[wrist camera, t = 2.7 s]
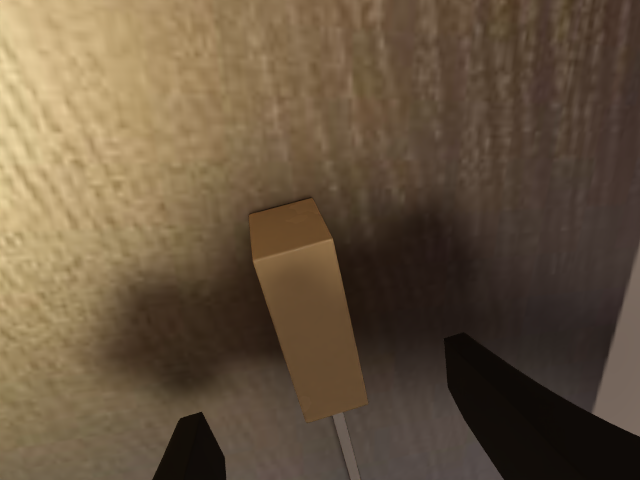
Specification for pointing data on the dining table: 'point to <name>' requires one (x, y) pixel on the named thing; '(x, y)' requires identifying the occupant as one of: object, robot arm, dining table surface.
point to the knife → (310, 313)
